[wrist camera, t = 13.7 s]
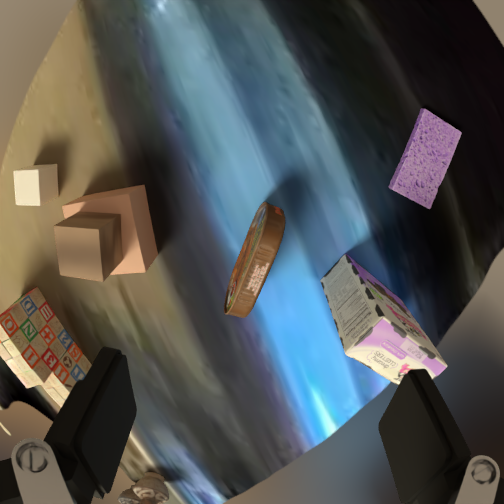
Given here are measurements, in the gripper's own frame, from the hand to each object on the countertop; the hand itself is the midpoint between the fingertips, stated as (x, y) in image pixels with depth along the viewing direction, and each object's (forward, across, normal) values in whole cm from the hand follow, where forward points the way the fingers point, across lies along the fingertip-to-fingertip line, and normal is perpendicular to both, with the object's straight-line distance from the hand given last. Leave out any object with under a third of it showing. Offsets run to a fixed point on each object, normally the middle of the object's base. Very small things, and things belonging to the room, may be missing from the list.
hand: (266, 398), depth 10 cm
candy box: (+34, -17, +13) cm, 40 cm away
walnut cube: (+28, +19, +6) cm, 34 cm away
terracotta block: (+34, +19, +6) cm, 39 cm away
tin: (+34, 0, +8) cm, 35 cm away
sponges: (+34, -22, -8) cm, 41 cm away
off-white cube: (+33, +32, 0) cm, 46 cm away
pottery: (+34, +24, +84) cm, 93 cm away
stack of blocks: (+34, +34, +29) cm, 56 cm away
